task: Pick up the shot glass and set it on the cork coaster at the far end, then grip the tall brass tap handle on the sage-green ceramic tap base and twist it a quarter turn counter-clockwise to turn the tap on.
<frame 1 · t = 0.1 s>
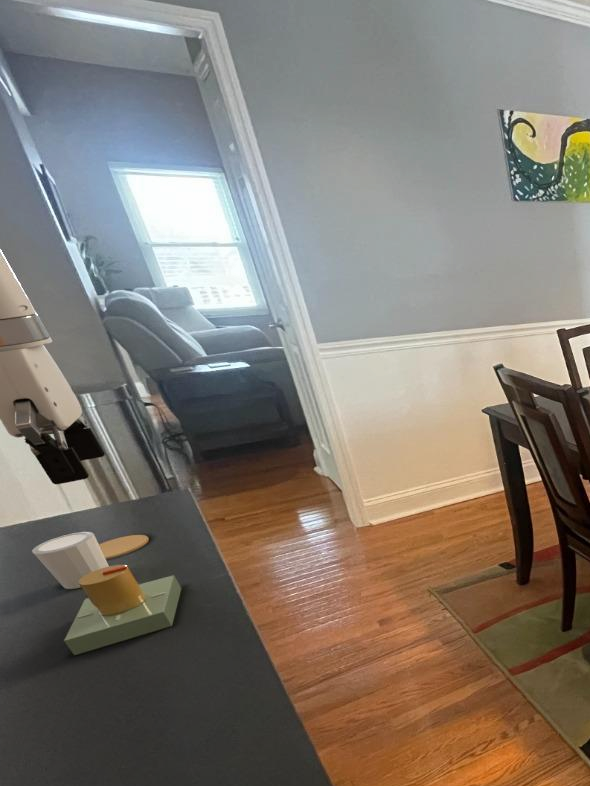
hand: (81, 469, 78), 22 cm above the table, tool pointing down, fingers open, 9 cm apart
tap base: (132, 619, 86), on the table
coaster: (117, 548, 105), on the table
tap handle: (112, 588, 83), point 5 cm above the table, hinge at 0.0°
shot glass: (88, 580, 96), on the table
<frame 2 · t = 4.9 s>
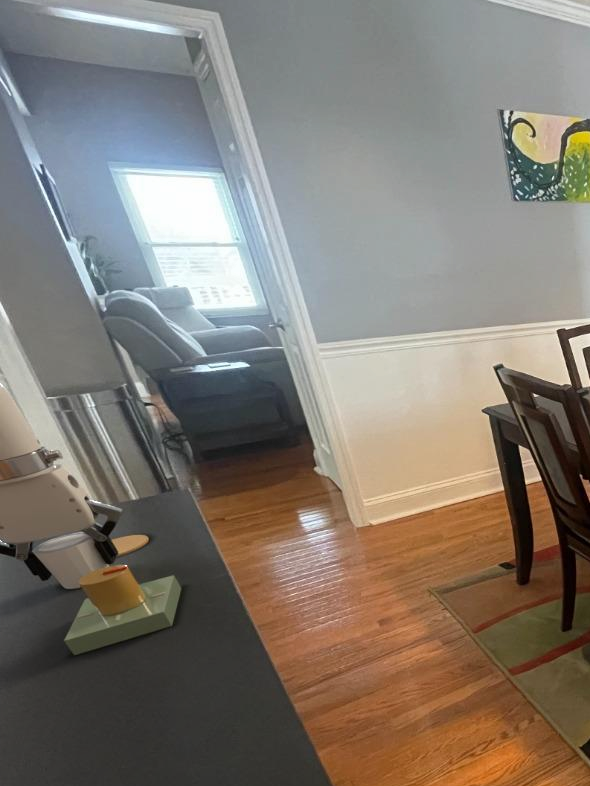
hand: (80, 567, 95), 2 cm above the table, tool pointing down, fingers closed on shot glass, 6 cm apart
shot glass: (88, 580, 96), on the table, touching gripper
everything else where it was.
when the fingers open (3 cm above the table, at t = 11.5 s): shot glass stays where it is, resting on coaster.
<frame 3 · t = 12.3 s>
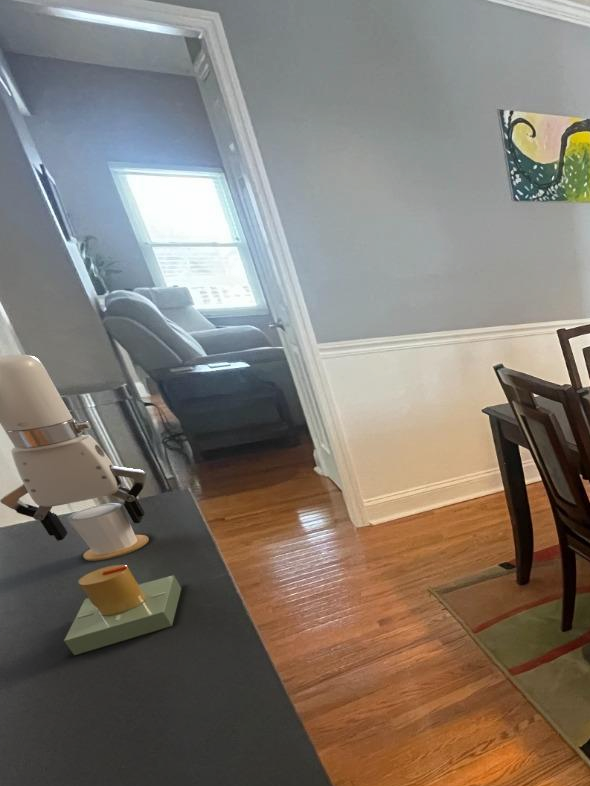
hand: (101, 528, 103), 4 cm above the table, tool pointing down, fingers open, 9 cm apart
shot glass: (116, 547, 105), resting on coaster
everything else where it was.
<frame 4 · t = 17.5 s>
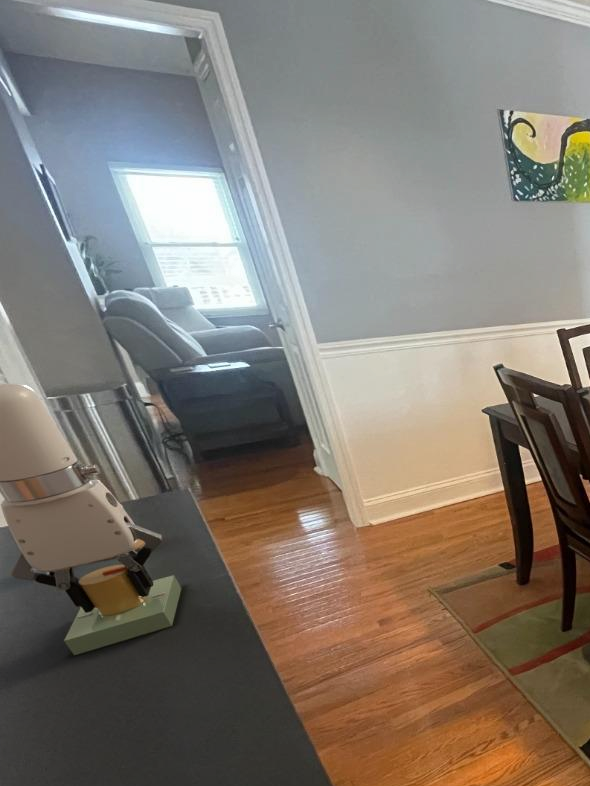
hand: (119, 598, 84), 4 cm above the table, tool pointing down, fingers closed on tap handle, 5 cm apart
tap handle: (112, 588, 83), point 5 cm above the table, hinge at 0.1°, touching gripper
everything else where it was.
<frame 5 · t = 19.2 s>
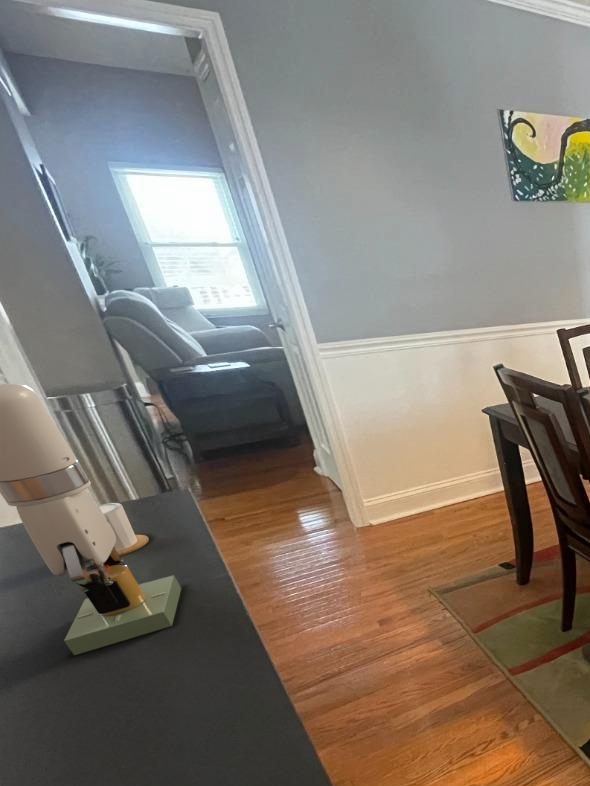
hand: (119, 598, 84), 4 cm above the table, tool pointing down, fingers closed on tap handle, 5 cm apart
tap handle: (112, 588, 83), point 5 cm above the table, hinge at 90.0°, touching gripper
everything else where it was.
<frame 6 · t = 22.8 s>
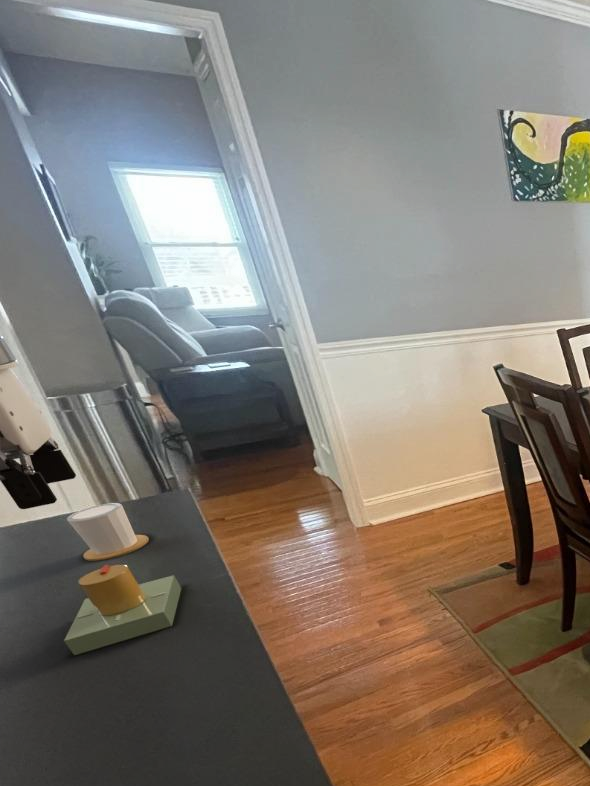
hand: (50, 492, 76), 20 cm above the table, tool pointing down, fingers open, 9 cm apart
tap handle: (112, 588, 83), point 5 cm above the table, hinge at 89.0°
everything else where it was.
at the end: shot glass 0.0 cm off-centre on the coaster, point 0.2 cm above the coaster's base; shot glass tilted 0°; tap handle at +89° (first picture: +0°) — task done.
